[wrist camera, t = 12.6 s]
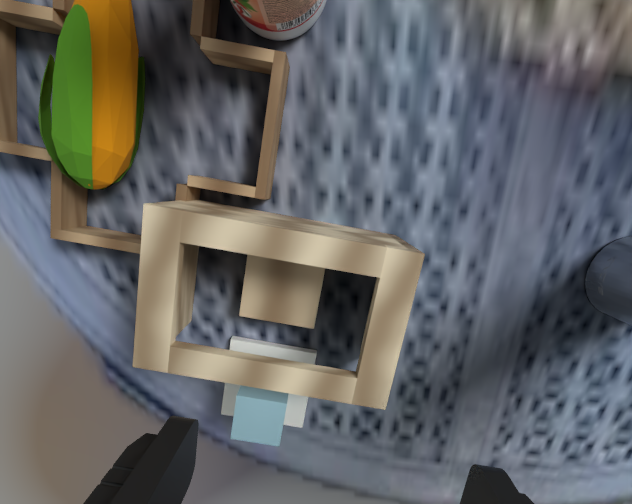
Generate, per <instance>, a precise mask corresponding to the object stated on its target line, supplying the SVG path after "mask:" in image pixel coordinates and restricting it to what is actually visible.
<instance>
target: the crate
mask: <svg viewBox="0 0 632 504" xmlns="http://www.w3.org/2000/svg"><path fill="white" fill-rule="evenodd" d="M199 246H203V247H209V248H214V249H220V250H226V251H231V252H237V253H243V254H248V255H247V262H246V269H245V277H244V284H243V291H242V299H241V306H240V313H239V316H242V317H248V318H254V319H259V320H265V321H271V322H277V323H283V324H288V325H294V326H300V327H306V328H311V329H314V325H315V320H316V315H317V309H318V304H319V299H320V294H321V288H322V283H323V278H324V273H325V268H327V269H333V270H338V271H344V272H350V273H355V274H361V275H367V276H372V277H377V278H376V282H375V287H374V291H373V295H372V300H371V304H370V309H369V313H368V318H367V322H366V327H365V331H364V335H363V340H362V344H361V349H360V351H361V352H360V356H359V360H358V365H357V369H356V372H355V371H349V370H343V369H337V368H331V367H326V366H320V365H314V364H308V363H302V362H296V361H290V360H285V359H279V358H273V357H267V356H261V355H255V354H250V353H244V352H238V351H232V350H226V349H220V348H215V347H209V346H203V345H197V344H191V343H185V342H180V341H175V339H176V336H177V335H178V334H179V333H180V332H181V331H182V330H183V329H184V328H185V327H186V326H187V325H188V324H189V323H190V322H191V319H192V310H193V300H194V291H195V281H196V272H197V262H198V253H199ZM424 256H425V254H424V253H422V252H421V251H419V250H418V249H416V248H415V247H413V246H411V245H410V244H408V243H407V242H405V241H404V240H402V239H401V238H399V237H397V236H396V235H392V234H386V233H381V232H375V231H369V230H364V229H358V228H353V227H347V226H342V225H336V224H331V223H325V222H319V221H314V220H308V219H303V218H297V217H292V216H286V215H281V214H275V213H269V212H264V211H258V210H253V209H247V208H242V207H236V206H231V205H225V204H219V203H214V202H208V201H203V200H193V201H181V200H179V201H168V202H157V203H146V204H144V206H143V221H142V235H141V250H140V265H139V280H138V294H137V309H136V324H135V339H134V354H133V367H136V368H142V369H148V370H153V371H159V372H165V373H171V374H177V375H183V376H189V377H195V378H201V379H207V380H213V381H218V382H224V383H230V384H236V385H242V386H248V387H254V388H260V389H266V390H272V391H277V392H283V393H289V394H295V395H301V396H307V397H313V398H319V399H325V400H331V401H337V402H342V403H348V404H354V405H360V406H366V407H372V408H378V409H384V410H385V409H386V405H387V402H388V398H389V394H390V390H391V386H392V382H393V378H394V374H395V370H396V366H397V362H398V358H399V354H400V350H401V346H402V342H403V338H404V334H405V331H406V327H407V323H408V319H409V315H410V311H411V307H412V303H413V299H414V295H415V291H416V287H417V283H418V279H419V275H420V271H421V267H422V263H423V259H424Z"/></svg>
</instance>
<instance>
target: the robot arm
mask: <svg viewBox="0 0 632 504" xmlns="http://www.w3.org/2000/svg"><path fill="white" fill-rule="evenodd" d="M585 288H586V293H587V296H588V298H589V300H590V302H591V303H592V304H593V305H594V307H595V308H597V309H598V310H599V311H601V312H603V313H605V314H607V315H609V316H611V317H614V318H616V319H618V320H620V321H623V322H625V323H627V324H629V325H632V236H629V237H624V238H621V239H618V240H616V241H614V242H612V243H610V244H609V245H607V246H606V247H604V248H603V249H602V250H601V251H600V252H599V253H598V254H597V255H596V256H595V258H594V259H593V260H592V262H591V264H590V266H589V268H588V270H587V274H586V278H585ZM197 436H198V420H196V419H190V418H184V417H177V416H171V417H170V418H169V419H168V420H167V422H166V423H165V424H164V426H163V427H162V429H161V430H160V432H159V433H158V435H155V434H149V433H146V434H144V435H143V436H142V437H140V438H139V439H137V440H136V441H135V442H133V443H132V444H131V445H129V446H128V447H127V448H126V449H125V451H124V452H123V453H122V455H121V456H120V457H119V458H118V460H117V461H116V462H115V463H114V465H113V468H112V469H110V470H109V471H108V473H107V474H106V475H105V476H104V478H103V479H102V480H101V483H100V485H98V486H97V487H96V488H95V489H94V491H93V492H92V493H91V495H90V496H89V497H88V499H87V500H86V501H85V502H84V504H181V503H182V501H183V498H184V496H185V494H186V492H187V489H188V487H189V485H190V482H191V479H192V475H193V471H194V467H195V459H196V447H197ZM460 504H534V503H533V502H532V501H531V500H530V499H529V498H528V497H527V496H526V495H525V494H522V493H519V492H518V490H517V489H516V487H515V486H514V484H513V482H512V481H511V479H510V478H509V476H508V475H507V473H506V472H505V471H504V470H503V469H501V468H495V467H488V466H482V465H473V466H472V467H471V469H470V471H469V475H468V478H467V481H466V485H465V488H464V492H463V495H462V498H461V502H460Z"/></svg>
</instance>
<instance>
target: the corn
mask: <svg viewBox="0 0 632 504" xmlns="http://www.w3.org/2000/svg"><path fill="white" fill-rule="evenodd" d="M138 54H139V49H138V43H137V36H136V30H135V23H134V17H133V10H132V4H131V0H74V3H73V5H72V8H71V10H70V11H69V13H68V15H67V17H66V19H65V22H64V24H63V27H62V30H61V33H60V36H59V38H58V43H57V50H56V58H55V62H54V58H53V56H52V55H51V54H50V55H49V59H48V62H47V66H46V69H45V73H44V77H43V80H42V84H41V93H40V104H39V117H38V119H39V127H40V134H41V136H42V139H43V142H44V144H45V147H46V149H47V152H48V153H49V155H50V156H51V158H52V159H53V161H54V162H55V164H56V165H57V167H58V168H59V169H60V171H61V172H62V173H63V174H64V175H65V176H67V177H68V178H69V179H71V180H72V181H73V182H75V183H76V184H77V185H79V186H80V187H85V188H88V189H95V190H96V189H102V190H103V189H105V188H107V187H109V186H111V185H113V184H115V183H116V182H118V181H120V180H121V179H122V177H123V176H124V175H125V173H126V172H127V171H128V170H129V168H130V167H131V165H132V163H133V160H134V158H135V155H136V152H137V150H138V145H139V138H140V132H141V125H142V119H143V112H144V94H145V62H144V57H140V58H138ZM52 84H53V91H52ZM51 93H52V128H51V109H50V102H51ZM78 182H79V183H80V184H81V185H82V186H81V185H80V184H79V183H78Z"/></svg>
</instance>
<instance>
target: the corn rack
mask: <svg viewBox="0 0 632 504" xmlns="http://www.w3.org/2000/svg"><path fill="white" fill-rule="evenodd" d="M73 3H74V0H53V8H50V7H45V6H39V5H34V4H29V3H24V2H18V1H13V0H0V152H4V153H9V154H15V155H20V156H26V157H31V158H37V159H42V160H48V161H51V238H53V239H59V240H65V241H71V242H76V243H82V244H88V245H93V246H99V247H105V248H110V249H116V250H122V251H127V252H133V253H139V254H140V250H141V235H136V234H130V233H124V232H119V231H113V230H108V229H102V228H96V227H91V226H86V224H87V193H88V188H85V187H80V186H79V185H77V184H76V183H75V182H73V181H72V180H71V179H69V178H68V177H67V176H65V175H64V174H63V173H62V172H61V171H60V169H59V168H58V167H57V165H56V164H55V162H54V161H53V159H52V158H51V156H50V155H49V153H48V152H47V149H46V148H43V147H37V146H32V145H26V144H21V143H17V82H16V27H20V28H25V29H31V30H36V31H41V32H47V33H52V34H57V35H60V33H61V30H62V27H63V24H64V22H65V19H66V17H67V15H68V13H69V11H70V10H71V8H72V5H73ZM219 4H220V0H193V5H192V16H191V28H190V35H191V36H192V37H193V38H194V39H195V41H196V42H197V43H198V44H199V45H200V49H201V50H202V51H203V53H204V54H205V55H206V56H207V57H208V58H209V59H210V61H211V62H212V63H213V64H217V65H222V66H227V67H233V68H238V69H243V70H249V71H254V72H259V73H264V74H270V75H271V80H270V87H269V94H268V102H267V109H266V116H265V124H264V131H263V138H262V146H261V153H260V160H259V167H258V175H257V182H256V186H252V185H247V184H241V183H236V182H230V181H225V180H219V179H214V178H208V177H203V176H193V175H188V183H187V184H177V188H176V199H175V201H179V200H181V201H193V200H199V199H200V189H201V188H203V189H208V190H214V191H219V192H225V193H231V194H236V195H242V196H247V197H253V198H258V199H264V200H265V199H270V197H271V191H272V184H273V177H274V170H275V164H276V157H277V150H278V143H279V136H280V130H281V123H282V116H283V109H284V102H285V96H286V89H287V82H288V75H289V68H290V66H289V63H288V59H287V55H286V52H282V51H276V50H271V49H266V48H261V47H255V46H250V45H245V44H240V43H234V42H229V41H224V40H218V39H216V33H217V24H218V14H219ZM78 183H79V182H78ZM79 184H80V183H79ZM80 185H81V184H80ZM81 186H82V185H81Z"/></svg>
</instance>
